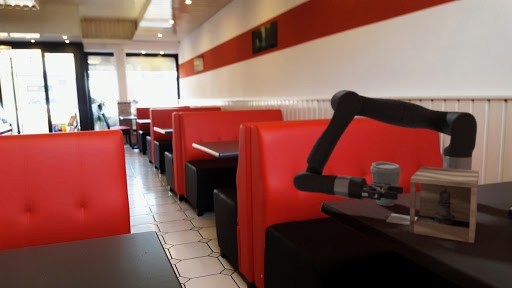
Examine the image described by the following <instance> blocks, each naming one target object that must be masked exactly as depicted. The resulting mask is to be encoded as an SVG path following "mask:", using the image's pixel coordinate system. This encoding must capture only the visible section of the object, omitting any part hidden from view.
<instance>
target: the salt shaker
mask: <svg viewBox="0 0 512 288" xmlns="http://www.w3.org/2000/svg"><path fill="white" fill-rule="evenodd" d="M438 204H439V210H438V212H437V213H434V214H433V216H434V217H433V219H434V220H435V223H437V224H444V225H451V224H453V222H454V221H455V220H454V218H455V216H454V215H452V214H451V213H450V205H451V203H450V193H449V192H447V191H446V188H445V189H444V191H441V192H440V195H439V202H438Z"/></svg>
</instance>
